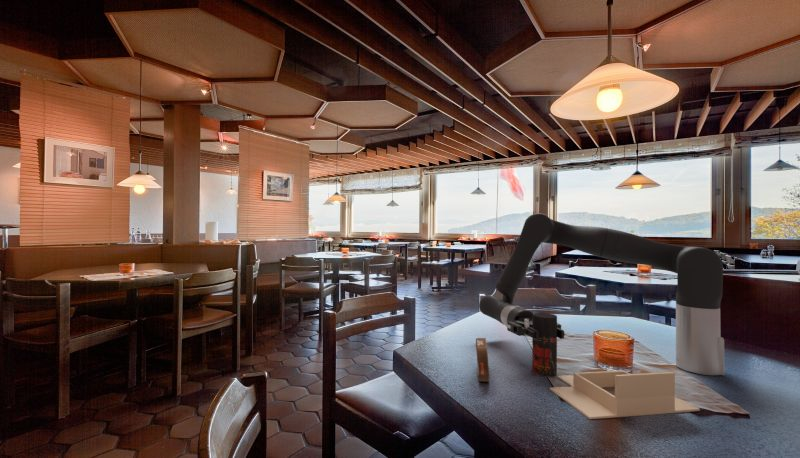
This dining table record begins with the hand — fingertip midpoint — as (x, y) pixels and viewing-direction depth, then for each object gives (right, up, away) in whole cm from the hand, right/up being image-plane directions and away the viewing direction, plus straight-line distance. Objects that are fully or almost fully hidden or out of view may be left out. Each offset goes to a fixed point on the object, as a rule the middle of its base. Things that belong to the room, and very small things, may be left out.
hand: (550, 335), depth 89 cm
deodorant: (-1, -11, +2) cm, 11 cm away
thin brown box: (-17, -10, 0) cm, 20 cm away
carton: (+9, -10, -10) cm, 17 cm away
